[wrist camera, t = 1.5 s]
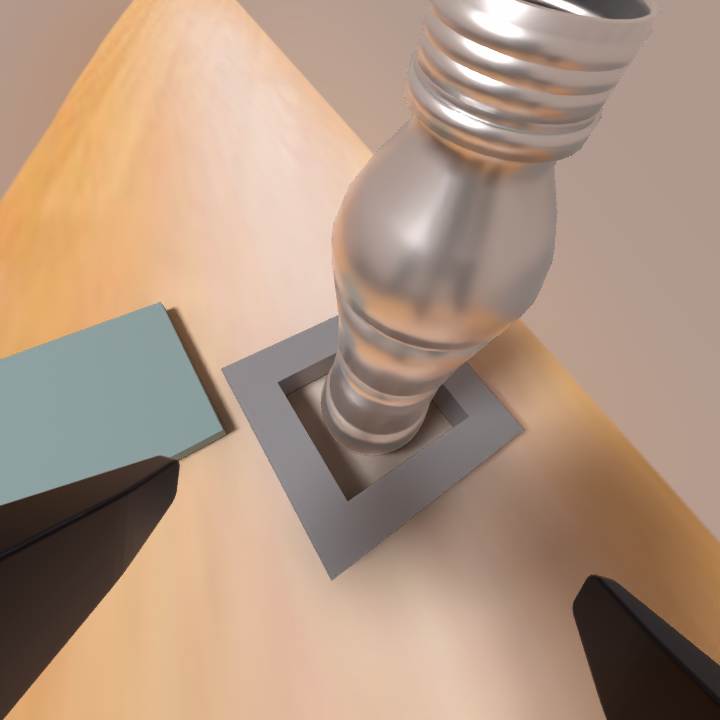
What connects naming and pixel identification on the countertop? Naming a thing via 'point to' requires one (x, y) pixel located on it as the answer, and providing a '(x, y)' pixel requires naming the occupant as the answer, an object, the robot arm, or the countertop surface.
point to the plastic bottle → (464, 198)
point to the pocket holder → (394, 490)
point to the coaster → (100, 404)
